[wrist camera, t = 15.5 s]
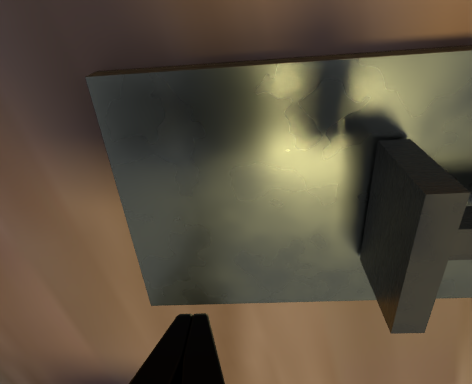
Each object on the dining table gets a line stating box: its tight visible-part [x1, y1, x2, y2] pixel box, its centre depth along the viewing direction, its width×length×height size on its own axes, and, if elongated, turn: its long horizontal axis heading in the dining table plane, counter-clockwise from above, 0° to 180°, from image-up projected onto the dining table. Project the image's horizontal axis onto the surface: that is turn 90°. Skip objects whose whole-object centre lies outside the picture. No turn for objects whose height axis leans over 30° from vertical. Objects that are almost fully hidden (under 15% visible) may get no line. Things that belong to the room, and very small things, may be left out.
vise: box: [85, 45, 472, 306], centre depth 13 cm, size 27×12×5 cm, turn 94°
